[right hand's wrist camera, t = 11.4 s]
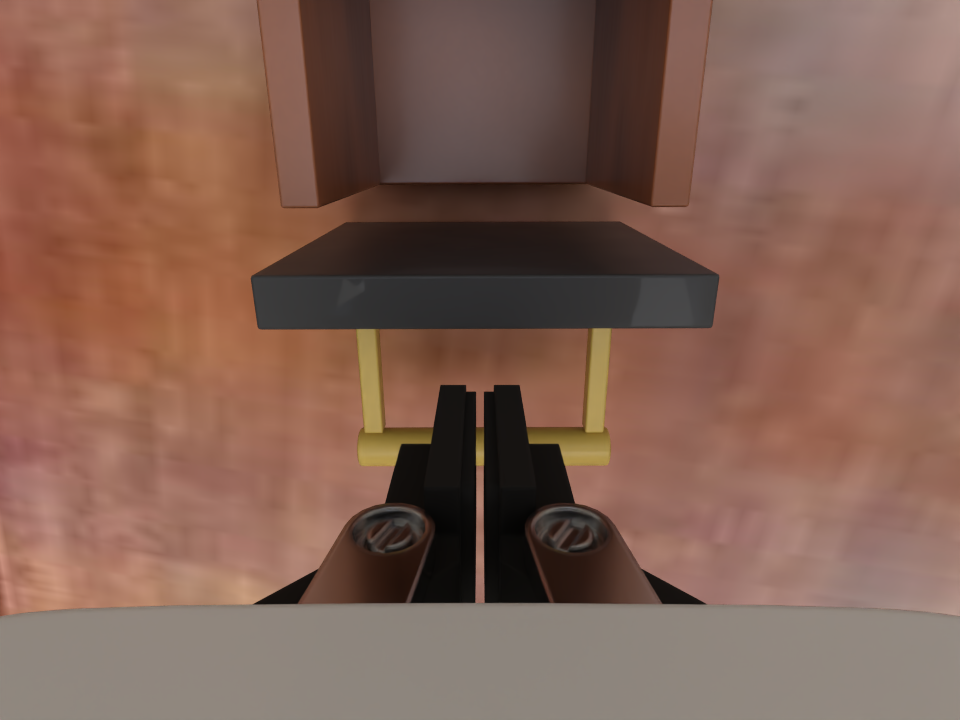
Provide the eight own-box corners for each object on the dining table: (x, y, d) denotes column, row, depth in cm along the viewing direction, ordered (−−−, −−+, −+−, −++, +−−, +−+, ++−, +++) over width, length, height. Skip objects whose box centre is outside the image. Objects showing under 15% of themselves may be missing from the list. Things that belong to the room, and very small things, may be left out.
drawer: (606, 402, 23) (681, 553, 15) (359, 403, 23) (288, 554, 15) (666, -347, 16) (895, -954, 7) (297, -346, 16) (74, -952, 7)
